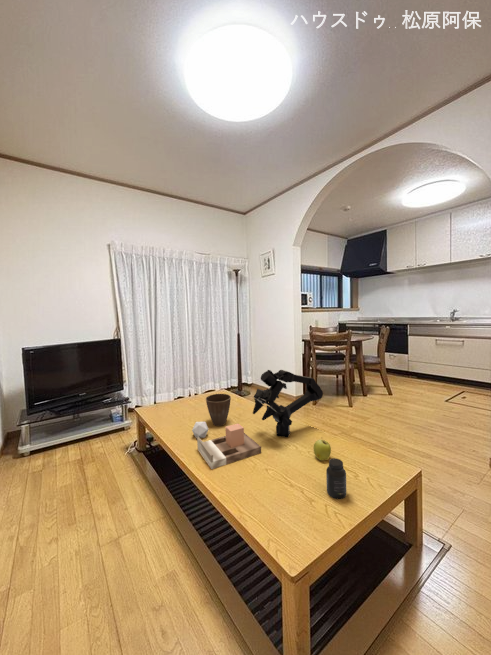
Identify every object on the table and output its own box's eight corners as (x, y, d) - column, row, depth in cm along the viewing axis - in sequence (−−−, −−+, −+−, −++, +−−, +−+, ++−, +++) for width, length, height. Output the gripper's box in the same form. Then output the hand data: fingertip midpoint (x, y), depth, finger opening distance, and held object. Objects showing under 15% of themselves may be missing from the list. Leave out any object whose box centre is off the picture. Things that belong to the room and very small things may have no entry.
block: (238, 438, 133) (238, 423, 132) (244, 443, 127) (243, 427, 127) (226, 442, 129) (225, 426, 129) (231, 447, 124) (230, 431, 124)
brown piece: (242, 436, 141) (242, 425, 141) (261, 452, 124) (260, 440, 124) (197, 449, 129) (197, 437, 129) (211, 469, 113) (210, 455, 112)
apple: (308, 456, 118) (312, 434, 119) (318, 455, 123) (321, 434, 124) (323, 464, 112) (326, 440, 113) (332, 462, 117) (336, 440, 118)
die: (201, 443, 137) (210, 426, 140) (187, 434, 138) (197, 417, 141) (203, 441, 145) (212, 425, 147) (190, 433, 146) (199, 417, 149)
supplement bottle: (323, 488, 98) (323, 457, 98) (341, 486, 99) (340, 455, 98) (331, 501, 92) (330, 467, 91) (350, 499, 92) (349, 466, 91)
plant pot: (230, 428, 151) (229, 401, 150) (204, 429, 152) (203, 402, 151) (232, 418, 166) (231, 393, 165) (209, 418, 167) (208, 394, 166)
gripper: (255, 378, 144) (238, 403, 139) (274, 387, 127) (256, 414, 123) (268, 389, 148) (252, 413, 144) (288, 399, 131) (271, 426, 127)
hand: (257, 416), depth 134 cm, fingers open, 9 cm apart
